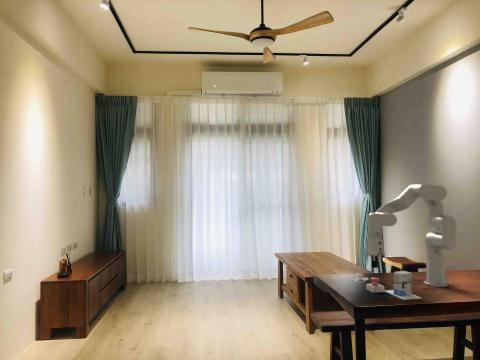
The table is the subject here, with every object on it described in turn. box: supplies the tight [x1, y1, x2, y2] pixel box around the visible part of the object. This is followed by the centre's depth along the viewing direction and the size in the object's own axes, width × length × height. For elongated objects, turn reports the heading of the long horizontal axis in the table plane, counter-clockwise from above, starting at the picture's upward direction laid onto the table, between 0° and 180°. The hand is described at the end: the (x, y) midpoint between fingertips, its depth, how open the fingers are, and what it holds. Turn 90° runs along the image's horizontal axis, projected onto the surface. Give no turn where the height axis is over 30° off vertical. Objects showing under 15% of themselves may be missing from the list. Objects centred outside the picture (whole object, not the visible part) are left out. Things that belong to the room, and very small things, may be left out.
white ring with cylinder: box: [353, 273, 369, 283], centre depth 222 cm, size 9×8×4 cm
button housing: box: [365, 283, 385, 293], centre depth 200 cm, size 7×7×3 cm
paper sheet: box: [384, 289, 423, 301], centre depth 192 cm, size 11×16×1 cm
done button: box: [370, 276, 380, 286], centre depth 200 cm, size 4×4×5 cm
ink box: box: [393, 270, 412, 296], centre depth 193 cm, size 8×5×12 cm, turn 115°
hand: (374, 267), depth 200 cm, fingers closed
